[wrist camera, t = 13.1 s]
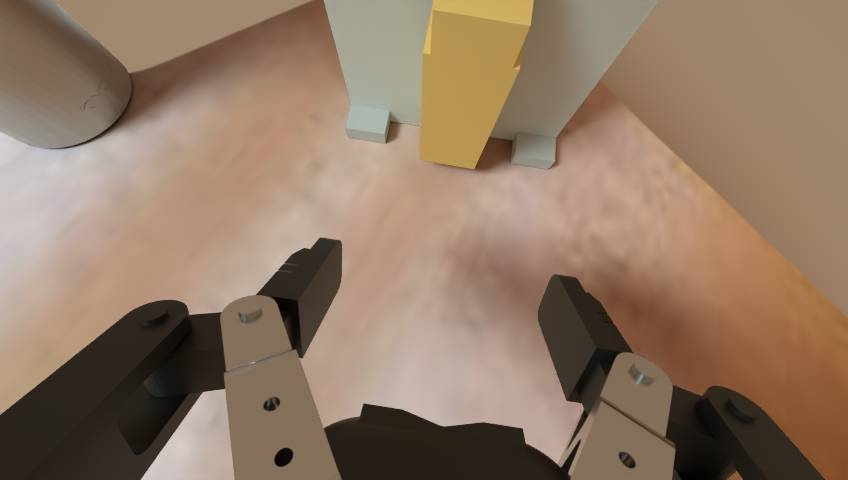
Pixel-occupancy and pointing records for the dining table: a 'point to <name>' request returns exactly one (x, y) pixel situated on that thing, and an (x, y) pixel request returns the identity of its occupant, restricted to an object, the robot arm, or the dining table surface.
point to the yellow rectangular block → (468, 74)
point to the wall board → (532, 89)
